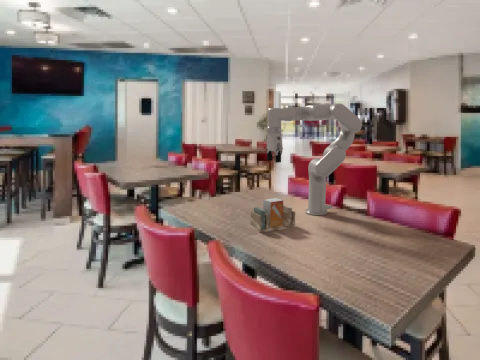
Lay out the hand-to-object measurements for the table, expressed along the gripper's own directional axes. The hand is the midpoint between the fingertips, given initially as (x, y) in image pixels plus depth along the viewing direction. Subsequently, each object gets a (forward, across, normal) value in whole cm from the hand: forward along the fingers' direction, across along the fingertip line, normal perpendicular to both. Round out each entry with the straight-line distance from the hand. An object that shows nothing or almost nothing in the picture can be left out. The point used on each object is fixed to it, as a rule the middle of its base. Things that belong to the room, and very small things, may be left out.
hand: (273, 161), depth 213 cm
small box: (+29, -23, +13) cm, 39 cm away
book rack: (+30, -23, +13) cm, 40 cm away
